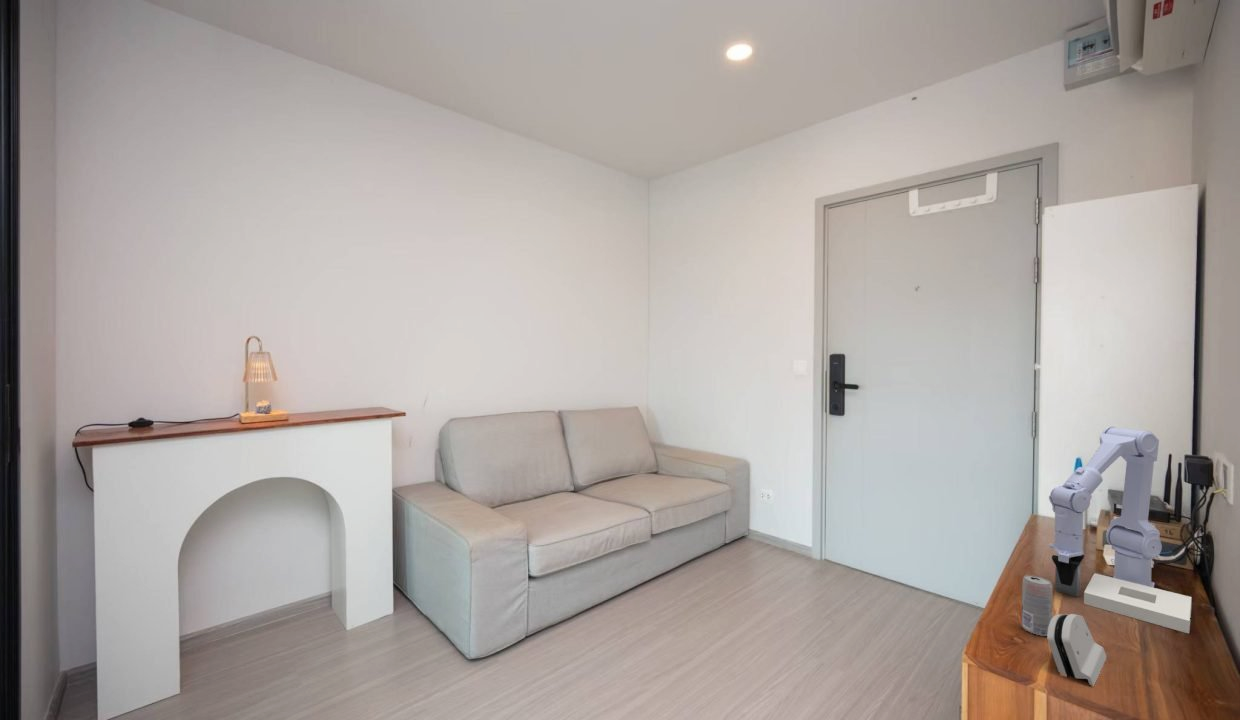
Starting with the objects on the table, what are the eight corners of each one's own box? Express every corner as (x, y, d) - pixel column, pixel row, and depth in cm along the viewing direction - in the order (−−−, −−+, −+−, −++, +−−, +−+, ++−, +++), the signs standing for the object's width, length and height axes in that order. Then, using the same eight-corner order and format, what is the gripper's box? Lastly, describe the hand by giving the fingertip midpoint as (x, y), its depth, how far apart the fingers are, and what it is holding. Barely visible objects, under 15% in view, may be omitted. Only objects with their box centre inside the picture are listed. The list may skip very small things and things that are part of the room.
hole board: (1094, 583, 141) (1094, 573, 141) (1191, 608, 127) (1191, 597, 127) (1083, 603, 129) (1084, 592, 129) (1189, 633, 115) (1189, 620, 115)
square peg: (1058, 585, 139) (1058, 557, 139) (1080, 591, 136) (1080, 562, 136) (1055, 590, 136) (1055, 561, 136) (1077, 596, 133) (1077, 567, 133)
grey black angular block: (1093, 688, 96) (1071, 632, 99) (1063, 685, 99) (1042, 630, 102) (1107, 655, 107) (1086, 605, 109) (1079, 653, 110) (1059, 605, 113)
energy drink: (1045, 627, 118) (1045, 576, 118) (1056, 639, 113) (1057, 586, 113) (1017, 622, 120) (1018, 573, 119) (1027, 634, 115) (1028, 582, 114)
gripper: (1054, 522, 144) (1053, 569, 144) (1043, 534, 134) (1043, 584, 134) (1088, 529, 138) (1087, 578, 138) (1079, 541, 129) (1078, 593, 129)
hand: (1067, 581), depth 136 cm, fingers closed on square peg, 4 cm apart
